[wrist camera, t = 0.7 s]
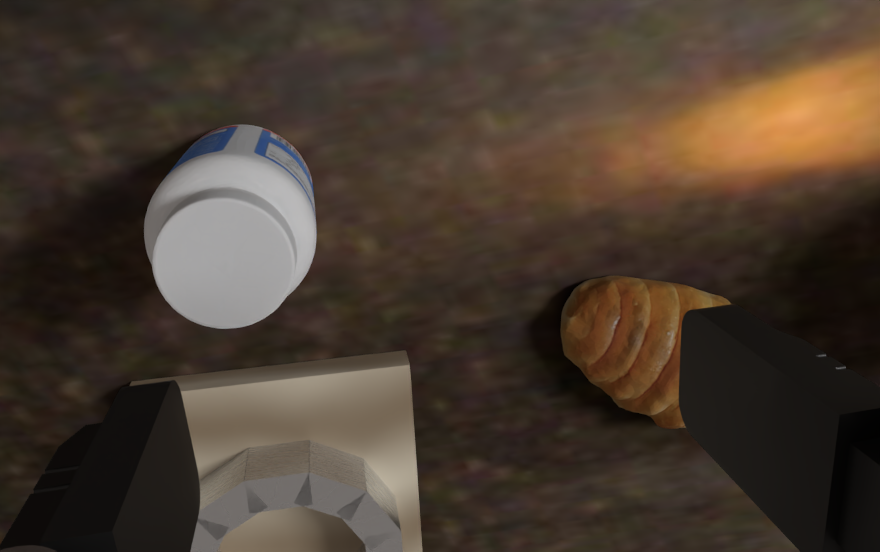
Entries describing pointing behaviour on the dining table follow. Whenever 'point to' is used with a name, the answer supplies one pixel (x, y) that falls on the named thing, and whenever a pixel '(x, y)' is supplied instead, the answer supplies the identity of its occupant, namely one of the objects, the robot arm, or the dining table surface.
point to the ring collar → (297, 493)
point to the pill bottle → (232, 227)
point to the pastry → (632, 340)
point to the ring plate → (309, 437)
